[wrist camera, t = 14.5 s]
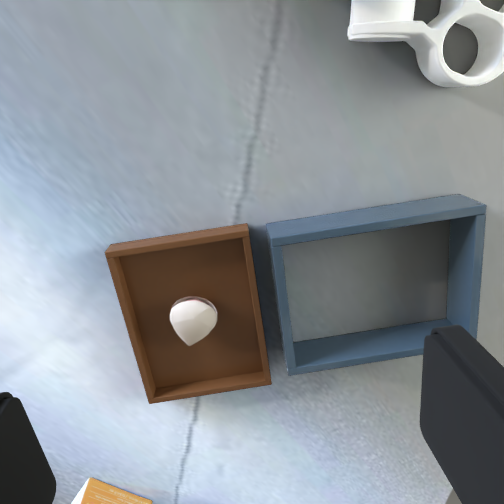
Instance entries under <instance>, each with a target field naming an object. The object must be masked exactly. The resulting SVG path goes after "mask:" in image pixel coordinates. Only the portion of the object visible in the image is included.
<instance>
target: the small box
mask: <svg viewBox="0 0 504 504" xmlns="http://www.w3.org/2000/svg"><path fill="white" fill-rule="evenodd" d="M71 504H152V500H149V499H145V498H143V497H140V496H137V495H135V494H132V493H129V492H127V491H124V490H122V489H119V488H116V487H114V486H111V485H109V484H106V483H104V482H101V481H99V480H96V479H95V478H93V477H89V478H88V480H87V481H86V483H85V484H84V486H83V487H82V489H81V490H80V492H79V493H78V494H77V496H76V497H75V499H74V500H73V502H72V503H71Z"/></svg>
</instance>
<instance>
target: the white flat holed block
mask: <svg viewBox="0 0 504 504" xmlns="http://www.w3.org/2000/svg"><path fill="white" fill-rule="evenodd" d="M414 9H415V0H352V2H351V16H350V26H349V27H348V34H347V36H348V37H349V40H350V41H358V42H394V41H406V42H407V43H408V44H409V45H410V46H411V47H412V48H413V49H414V50H415V52H416V58H417V63H418V66H419V68H420V70H421V72H422V73H423V75H424V76H425V77H426V78H427V79H428V80H429V81H431V82H432V83H434V84H436V85H438V86H441V87H474V86H479V85H482V84H485V83H487V82H490V81H491V80H493V79H495V78H496V77H497V76H499V75H500V74H501V73H502V72H503V71H504V4H503V6H502V7H501V9H500V10H499V11H498V12H497V11H495V10H492V9H490V8H487V7H486V6H484V5H483V4H482V3H481V2H480V1H479V0H441V6H440V11H439V14H438V15H437V17H436V18H434V19H433V20H431V21H430V22H429V23H428V24H427V25H426V24H425V23H424V22H423V21H413V17H414ZM454 23H457V24H460V25H462V26H465V27H467V28H469V29H470V30H472V31H473V33H474V34H475V36H476V38H477V41H478V54H477V58H476V60H475V62H474V64H473V66H472V67H471V68H470V70H469V71H468V72H466V73H465V74H464V75H462V74H459V73H457V72H454V71H452V70H451V69H450V68H449V67H448V66H447V64H446V63H445V60H444V57H443V42H444V38H445V36H446V34H447V32H448V30H449V29H450V27H451V26H452V25H453V24H454Z"/></svg>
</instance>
